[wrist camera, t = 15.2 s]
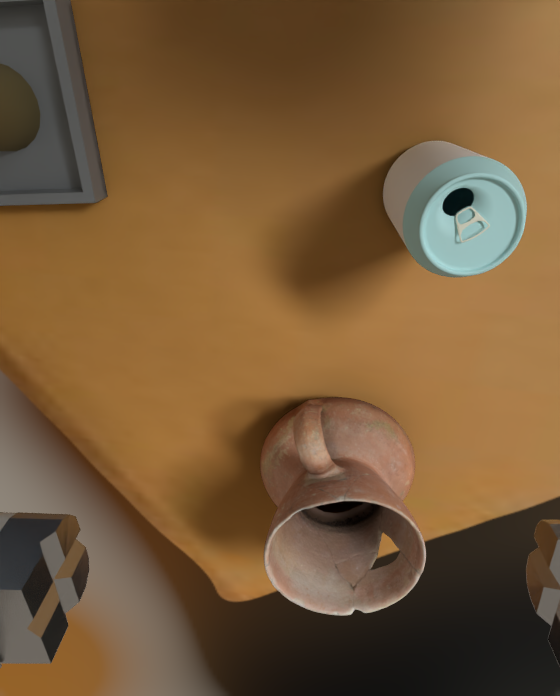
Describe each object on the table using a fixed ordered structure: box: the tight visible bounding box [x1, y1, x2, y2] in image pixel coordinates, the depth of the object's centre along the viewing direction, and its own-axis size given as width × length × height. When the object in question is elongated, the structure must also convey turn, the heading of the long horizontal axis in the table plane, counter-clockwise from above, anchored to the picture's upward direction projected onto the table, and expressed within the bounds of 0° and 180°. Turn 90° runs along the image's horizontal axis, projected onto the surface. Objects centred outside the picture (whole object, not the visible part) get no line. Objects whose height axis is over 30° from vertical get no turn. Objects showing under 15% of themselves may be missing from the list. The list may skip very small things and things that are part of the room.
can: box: [383, 141, 527, 277], centre depth 33 cm, size 7×7×12 cm
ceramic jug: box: [260, 397, 426, 615], centre depth 44 cm, size 18×14×14 cm
